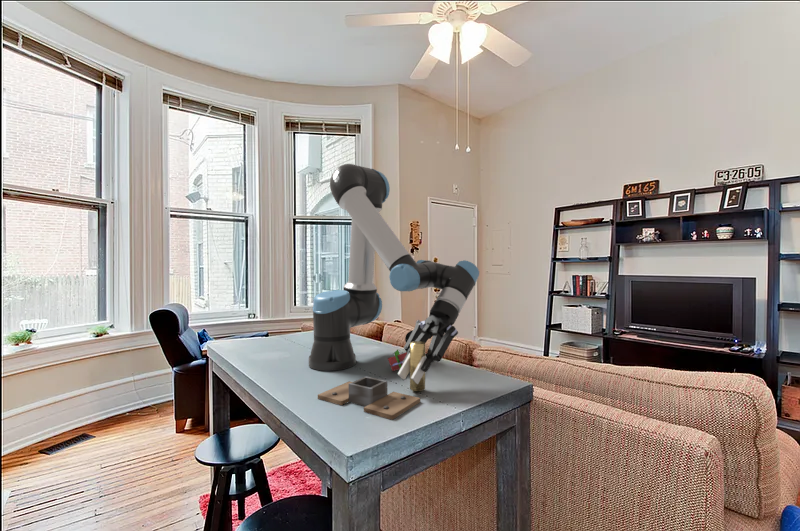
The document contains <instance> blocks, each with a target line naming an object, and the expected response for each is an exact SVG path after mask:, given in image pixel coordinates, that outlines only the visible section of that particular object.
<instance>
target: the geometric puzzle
mask: <svg viewBox="0 0 800 531" xmlns="http://www.w3.org/2000/svg"><path fill="white" fill-rule="evenodd" d="M399 351H400V352H399ZM392 355H393V356H389V357H387V360H388V363H389V367H390V368H391V371H392V372H394V373H395V372H396V371H397V372H399V370H400V368H401V367H402V365H403V364H402V362H403V360H404V359H405V357H406V355H407V352H406V351H405V352H404V351H401V350H400V349H396V351H394V352H393V353H392Z"/></svg>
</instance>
